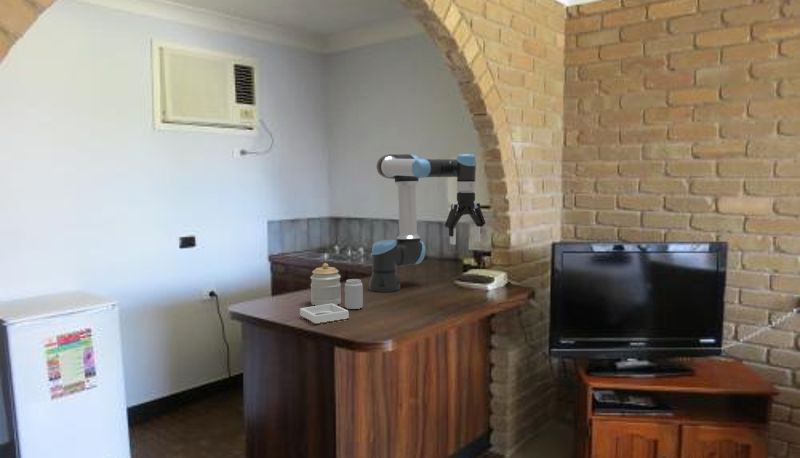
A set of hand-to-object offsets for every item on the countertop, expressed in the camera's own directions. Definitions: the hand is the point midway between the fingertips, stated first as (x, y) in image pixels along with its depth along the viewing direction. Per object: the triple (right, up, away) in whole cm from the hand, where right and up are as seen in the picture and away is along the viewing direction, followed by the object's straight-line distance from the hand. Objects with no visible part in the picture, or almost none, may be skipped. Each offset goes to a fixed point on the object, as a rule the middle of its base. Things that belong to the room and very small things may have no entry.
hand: (465, 243), depth 226 cm
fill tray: (-57, -29, -15) cm, 65 cm away
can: (-46, -27, 0) cm, 54 cm away
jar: (-59, -27, +8) cm, 65 cm away
